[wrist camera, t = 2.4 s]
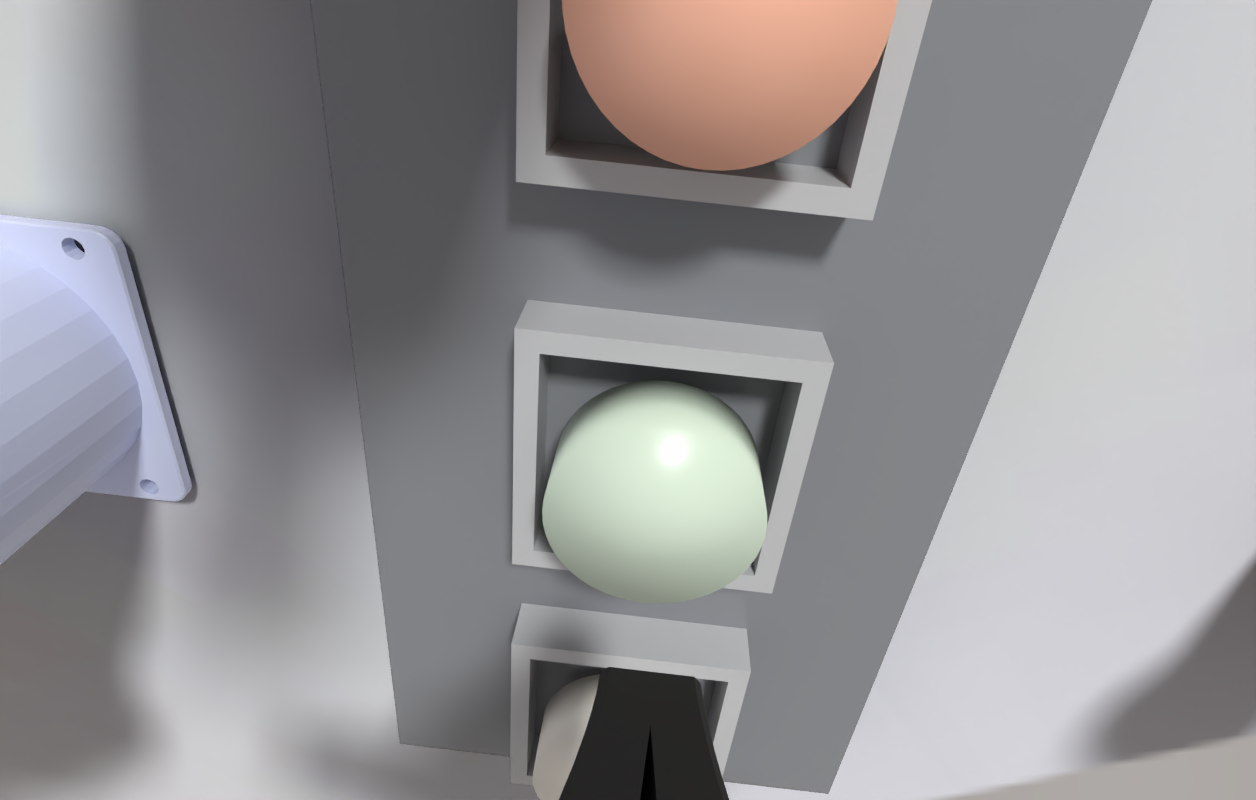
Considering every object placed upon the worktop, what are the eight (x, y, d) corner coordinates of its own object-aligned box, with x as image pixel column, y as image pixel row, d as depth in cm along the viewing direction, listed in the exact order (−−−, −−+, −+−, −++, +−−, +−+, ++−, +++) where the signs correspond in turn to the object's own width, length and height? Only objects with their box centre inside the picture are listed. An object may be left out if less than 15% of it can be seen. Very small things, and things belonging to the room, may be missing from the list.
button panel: (419, 691, 25) (384, 785, 22) (324, -334, 12) (206, -435, 9) (818, 737, 25) (836, 838, 22) (1181, -247, 12) (1349, -321, 9)
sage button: (552, 533, 17) (539, 590, 15) (560, 368, 15) (545, 416, 13) (740, 555, 17) (745, 614, 15) (777, 393, 14) (788, 443, 13)
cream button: (541, 762, 21) (530, 824, 20) (546, 664, 19) (534, 725, 18) (688, 780, 21) (688, 842, 20) (710, 683, 19) (712, 746, 18)
